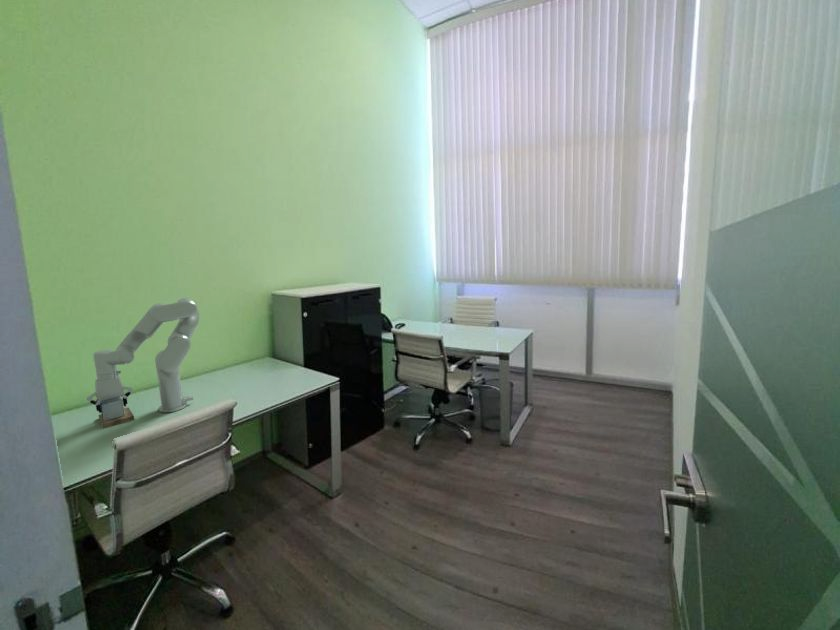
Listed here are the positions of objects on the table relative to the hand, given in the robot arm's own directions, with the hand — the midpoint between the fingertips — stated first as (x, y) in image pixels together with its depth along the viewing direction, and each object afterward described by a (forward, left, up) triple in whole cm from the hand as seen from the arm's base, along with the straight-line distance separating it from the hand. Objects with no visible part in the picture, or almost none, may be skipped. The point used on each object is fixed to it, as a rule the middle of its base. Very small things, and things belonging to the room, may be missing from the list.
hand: (112, 408), depth 184 cm
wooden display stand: (-1, -2, -6) cm, 7 cm away
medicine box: (0, 0, -4) cm, 5 cm away
